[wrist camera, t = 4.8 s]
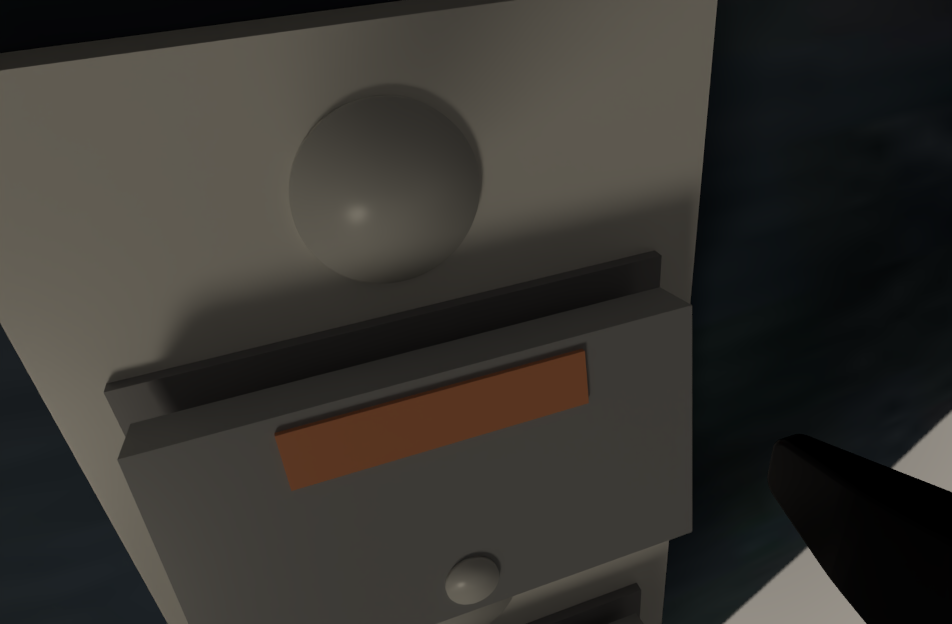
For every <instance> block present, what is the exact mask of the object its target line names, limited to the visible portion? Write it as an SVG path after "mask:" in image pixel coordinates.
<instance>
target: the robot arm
mask: <svg viewBox="0 0 952 624" xmlns="http://www.w3.org/2000/svg"><path fill="white" fill-rule="evenodd" d="M767 479H768V484H769V488H770V490H771V492H772V494H773V495H774V497H775V498H776V500H777V501H778V503H779V504H780V506H781V507H782V509H783V510H784V512H785V513H786V515H787V516H788V518H789V519H790V521H791V522H792V524H793V525H794V527H795V528H796V530H797V531H798V533H799V534H800V536H801V537H802V538H803V540H804V541H805V543H806V544H807V546H808V547H809V549H810V550H811V552H812V553H813V555H814V556H815V558H816V559H817V561H818V562H819V563H820V565H821V566H822V568H823V569H824V571H825V572H826V573H827V575H828V576H829V577H830V579H831V580H832V582H833V583H834V584H835V585H836V587H837V588H838V589H839V591H840V592H841V593H842V594H843V596H844V597H845V598H846V599H847V600H848V602H849V603H850V604H851V605H852V606H853V608H854V609H855V610H856V611H857V613H858V614H859V615H860V616H861V618H862V619H863V620H864V621H865V622H866V624H952V492H950V491H947V490H945V489H942V488H939V487H937V486H935V485H932V484H930V483H927V482H924V481H922V480H919V479H917V478H914V477H911V476H909V475H907V474H904V473H902V472H899V471H896V470H894V469H891V468H889V467H886V466H884V465H881V464H879V463H876V462H873V461H871V460H868V459H866V458H863V457H861V456H858V455H856V454H853V453H851V452H848V451H845V450H843V449H840V448H838V447H835V446H833V445H830V444H828V443H825V442H823V441H820V440H817V439H815V438H812V437H810V436H807V435H804V434H795V435H791V436H788V437H785V438H782V439H780V440H778V441H777V442H776V443H775V444H774V446H773V451H772V456H771V461H770V466H769V471H768V478H767Z"/></svg>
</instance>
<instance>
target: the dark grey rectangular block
mask: <svg viewBox="0 0 952 624" xmlns="http://www.w3.org/2000/svg"><path fill="white" fill-rule="evenodd" d="M609 624H644V623H643V622H642V621H641V619H640V618H639V617H638V615H637V614H636V613H635V614H632V615H630V616H627V617H624V618H622V619H619V620H617V621H614V622H611V623H609Z"/></svg>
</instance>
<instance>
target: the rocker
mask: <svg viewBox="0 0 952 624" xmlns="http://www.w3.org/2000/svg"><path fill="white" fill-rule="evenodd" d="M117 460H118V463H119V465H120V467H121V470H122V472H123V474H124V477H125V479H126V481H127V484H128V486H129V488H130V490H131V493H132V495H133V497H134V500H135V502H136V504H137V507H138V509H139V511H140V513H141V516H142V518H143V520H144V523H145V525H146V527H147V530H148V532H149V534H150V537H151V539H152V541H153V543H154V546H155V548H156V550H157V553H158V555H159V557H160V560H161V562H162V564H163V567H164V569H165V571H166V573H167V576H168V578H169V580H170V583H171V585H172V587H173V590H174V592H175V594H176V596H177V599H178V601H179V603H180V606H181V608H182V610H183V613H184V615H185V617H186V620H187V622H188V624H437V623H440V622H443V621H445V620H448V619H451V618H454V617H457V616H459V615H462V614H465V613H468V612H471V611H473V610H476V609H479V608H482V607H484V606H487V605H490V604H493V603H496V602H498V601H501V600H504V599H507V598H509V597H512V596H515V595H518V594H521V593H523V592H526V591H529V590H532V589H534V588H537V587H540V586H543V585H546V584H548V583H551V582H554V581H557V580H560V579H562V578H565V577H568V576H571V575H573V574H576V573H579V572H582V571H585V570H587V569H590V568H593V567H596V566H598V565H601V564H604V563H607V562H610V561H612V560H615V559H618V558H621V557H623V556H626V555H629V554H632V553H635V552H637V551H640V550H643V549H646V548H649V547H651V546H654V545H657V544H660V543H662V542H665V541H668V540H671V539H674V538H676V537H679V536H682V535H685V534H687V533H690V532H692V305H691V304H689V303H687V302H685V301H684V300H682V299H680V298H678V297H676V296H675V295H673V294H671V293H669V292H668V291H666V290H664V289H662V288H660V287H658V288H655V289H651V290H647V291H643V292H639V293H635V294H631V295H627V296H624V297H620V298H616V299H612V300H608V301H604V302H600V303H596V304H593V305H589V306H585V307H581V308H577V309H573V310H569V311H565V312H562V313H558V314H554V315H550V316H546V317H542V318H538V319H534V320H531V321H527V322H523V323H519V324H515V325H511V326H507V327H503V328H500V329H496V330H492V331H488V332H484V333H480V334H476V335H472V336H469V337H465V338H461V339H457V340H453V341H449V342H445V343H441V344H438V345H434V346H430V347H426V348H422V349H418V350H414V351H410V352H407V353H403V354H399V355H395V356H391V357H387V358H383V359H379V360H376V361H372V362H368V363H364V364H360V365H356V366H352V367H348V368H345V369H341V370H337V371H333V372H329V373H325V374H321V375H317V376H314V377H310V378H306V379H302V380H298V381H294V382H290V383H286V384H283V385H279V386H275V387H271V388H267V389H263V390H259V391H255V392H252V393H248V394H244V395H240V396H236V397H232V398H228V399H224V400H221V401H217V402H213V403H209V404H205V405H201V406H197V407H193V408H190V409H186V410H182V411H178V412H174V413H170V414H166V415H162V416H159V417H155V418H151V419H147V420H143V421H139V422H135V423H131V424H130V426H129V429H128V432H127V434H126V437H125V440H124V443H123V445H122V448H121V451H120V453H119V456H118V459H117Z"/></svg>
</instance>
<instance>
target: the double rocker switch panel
mask: <svg viewBox="0 0 952 624" xmlns="http://www.w3.org/2000/svg"><path fill="white" fill-rule="evenodd" d="M716 10H717V0H402V1H394V2H387V3H379V4H371V5H364V6H356V7H349V8H341V9H333V10H326V11H318V12H310V13H303V14H295V15H288V16H280V17H272V18H265V19H257V20H249V21H242V22H234V23H227V24H219V25H211V26H204V27H196V28H188V29H181V30H173V31H166V32H158V33H150V34H143V35H135V36H127V37H120V38H112V39H105V40H97V41H89V42H82V43H74V44H66V45H59V46H51V47H44V48H36V49H28V50H21V51H13V52H5V53H0V323H1V325H2V327H3V329H4V330H5V332H6V334H7V336H8V338H9V339H10V341H11V343H12V345H13V346H14V348H15V350H16V352H17V354H18V355H19V357H20V359H21V361H22V363H23V364H24V366H25V368H26V370H27V372H28V373H29V375H30V377H31V379H32V381H33V382H34V384H35V386H36V388H37V390H38V391H39V393H40V395H41V397H42V399H43V400H44V402H45V404H46V406H47V408H48V409H49V411H50V413H51V415H52V417H53V418H54V420H55V422H56V424H57V425H58V427H59V429H60V431H61V433H62V434H63V436H64V438H65V440H66V442H67V443H68V445H69V447H70V449H71V451H72V452H73V454H74V456H75V458H76V460H77V461H78V463H79V465H80V467H81V469H82V470H83V472H84V474H85V476H86V478H87V479H88V481H89V483H90V485H91V487H92V488H93V490H94V492H95V494H96V496H97V497H98V499H99V501H100V503H101V505H102V506H103V508H104V510H105V512H106V513H107V515H108V517H109V519H110V521H111V522H112V524H113V526H114V528H115V530H116V531H117V533H118V535H119V537H120V539H121V540H122V542H123V544H124V546H125V548H126V549H127V551H128V553H129V555H130V557H131V558H132V560H133V562H134V564H135V566H136V567H137V569H138V571H139V573H140V575H141V576H142V578H143V580H144V582H145V584H146V585H147V587H148V589H149V591H150V592H151V594H152V596H153V598H154V600H155V601H156V603H157V605H158V607H159V609H160V610H161V612H162V614H163V616H164V618H165V619H166V621H167V623H168V624H188V622H187V620H186V617H185V615H184V613H183V610H182V608H181V606H180V603H179V601H178V599H177V596H176V594H175V592H174V590H173V587H172V585H171V583H170V580H169V578H168V576H167V573H166V571H165V569H164V567H163V564H162V562H161V560H160V557H159V555H158V553H157V550H156V548H155V546H154V543H153V541H152V539H151V537H150V534H149V532H148V530H147V527H146V525H145V523H144V520H143V518H142V516H141V513H140V511H139V509H138V507H137V504H136V502H135V500H134V497H133V495H132V493H131V490H130V488H129V486H128V484H127V481H126V479H125V477H124V474H123V472H122V470H121V467H120V465H119V463H118V460H117V459H118V456H119V453H120V451H121V448H122V445H123V443H124V440H125V437H126V434H127V432H128V429H129V426H130V424H131V423H135V422H139V421H143V420H147V419H151V418H155V417H159V416H162V415H166V414H170V413H174V412H178V411H182V410H186V409H190V408H193V407H197V406H201V405H205V404H209V403H213V402H217V401H221V400H224V399H228V398H232V397H236V396H240V395H244V394H248V393H252V392H255V391H259V390H263V389H267V388H271V387H275V386H279V385H283V384H286V383H290V382H294V381H298V380H302V379H306V378H310V377H314V376H317V375H321V374H325V373H329V372H333V371H337V370H341V369H345V368H348V367H352V366H356V365H360V364H364V363H368V362H372V361H376V360H379V359H383V358H387V357H391V356H395V355H399V354H403V353H407V352H410V351H414V350H418V349H422V348H426V347H430V346H434V345H438V344H441V343H445V342H449V341H453V340H457V339H461V338H465V337H469V336H472V335H476V334H480V333H484V332H488V331H492V330H496V329H500V328H503V327H507V326H511V325H515V324H519V323H523V322H527V321H531V320H534V319H538V318H542V317H546V316H550V315H554V314H558V313H562V312H565V311H569V310H573V309H577V308H581V307H585V306H589V305H593V304H596V303H600V302H604V301H608V300H612V299H616V298H620V297H624V296H627V295H631V294H635V293H639V292H643V291H647V290H651V289H655V288H658V287H660V288H662V289H664V290H666V291H668V292H669V293H671V294H673V295H675V296H676V297H678V298H680V299H682V300H684V301H685V302H687V303H689V304H690V300H691V289H692V278H693V267H694V256H695V244H696V233H697V222H698V211H699V200H700V189H701V178H702V166H703V155H704V144H705V133H706V122H707V111H708V100H709V88H710V77H711V66H712V55H713V44H714V33H715V21H716ZM668 546H669V540H668V541H665V542H662V543H660V544H657V545H654V546H651V547H649V548H646V549H643V550H640V551H637V552H635V553H632V554H629V555H626V556H623V557H621V558H618V559H615V560H612V561H610V562H607V563H604V564H601V565H598V566H596V567H593V568H590V569H587V570H585V571H582V572H579V573H576V574H573V575H571V576H568V577H565V578H562V579H560V580H557V581H554V582H551V583H548V584H546V585H543V586H540V587H537V588H534V589H532V590H529V591H526V592H523V593H521V594H518V595H515V596H512V597H509V598H507V599H504V600H501V601H498V602H496V603H493V604H490V605H487V606H484V607H482V608H479V609H476V610H473V611H471V612H468V613H465V614H462V615H459V616H457V617H454V618H451V619H448V620H445V621H443V622H440V623H437V624H609V623H611V622H614V621H617V620H619V619H622V618H624V617H627V616H630V615H632V614H635V613H636V614H637V615H638V617H639V618H640V619H641V621H642V622H643V623H644V624H662V612H663V601H664V590H665V579H666V568H667V557H668Z"/></svg>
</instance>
